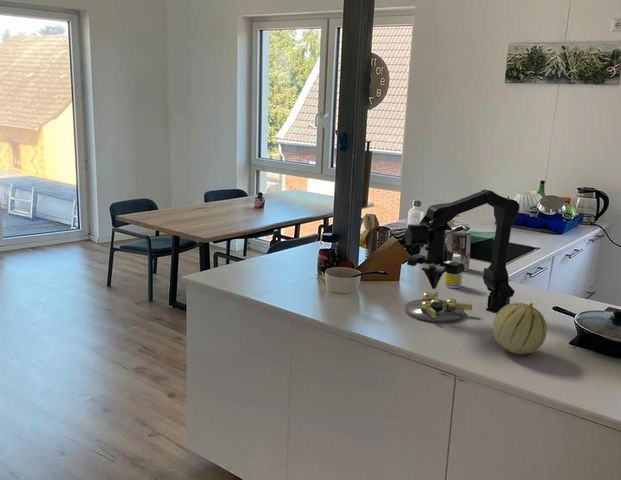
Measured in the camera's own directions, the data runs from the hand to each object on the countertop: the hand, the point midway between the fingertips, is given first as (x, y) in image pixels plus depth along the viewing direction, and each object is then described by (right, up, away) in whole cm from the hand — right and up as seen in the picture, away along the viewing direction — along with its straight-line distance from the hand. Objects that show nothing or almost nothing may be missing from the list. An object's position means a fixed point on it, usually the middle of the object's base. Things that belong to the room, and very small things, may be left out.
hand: (434, 288), depth 195 cm
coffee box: (+23, +3, +61) cm, 66 cm away
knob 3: (+9, -7, +3) cm, 12 cm away
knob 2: (-2, -8, -2) cm, 9 cm away
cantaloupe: (+18, -16, -27) cm, 36 cm away
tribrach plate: (+1, -9, +5) cm, 10 cm away
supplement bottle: (+15, -2, +35) cm, 38 cm away
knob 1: (+1, -5, +12) cm, 13 cm away
